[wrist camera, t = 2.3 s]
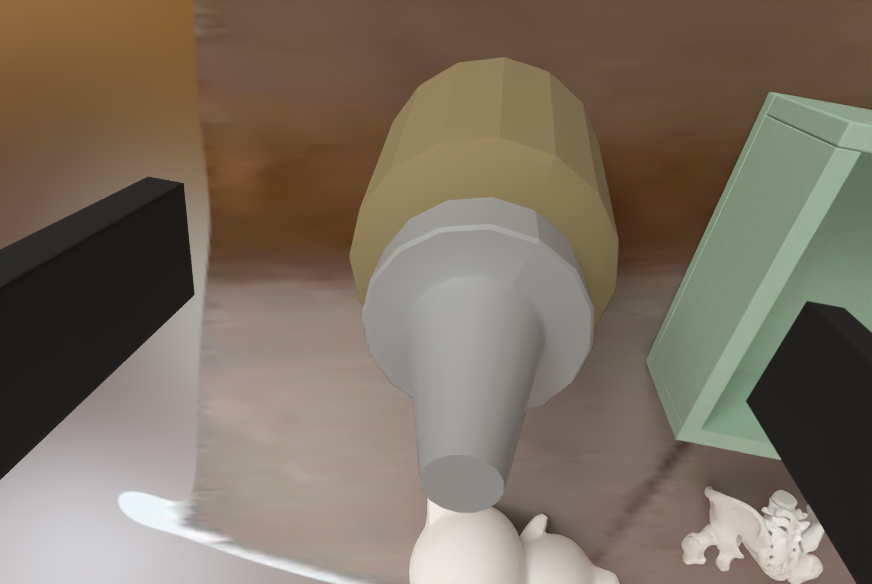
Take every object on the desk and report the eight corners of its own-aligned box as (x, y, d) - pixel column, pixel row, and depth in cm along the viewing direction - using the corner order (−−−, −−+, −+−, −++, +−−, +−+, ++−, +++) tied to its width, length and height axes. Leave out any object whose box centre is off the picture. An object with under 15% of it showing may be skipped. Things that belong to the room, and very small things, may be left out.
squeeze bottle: (476, 264, 25) (430, 683, 10) (363, 135, 23) (66, 425, 7) (623, 163, 22) (897, 550, 7) (511, -1, 20) (536, 11, 4)
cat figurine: (624, 709, 27) (402, 656, 26) (545, 663, 36) (380, 622, 35) (633, 528, 31) (440, 476, 30) (559, 529, 40) (411, 489, 39)
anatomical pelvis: (681, 589, 30) (729, 528, 26) (665, 522, 34) (705, 459, 30) (820, 615, 30) (890, 557, 26) (789, 545, 33) (847, 484, 29)
